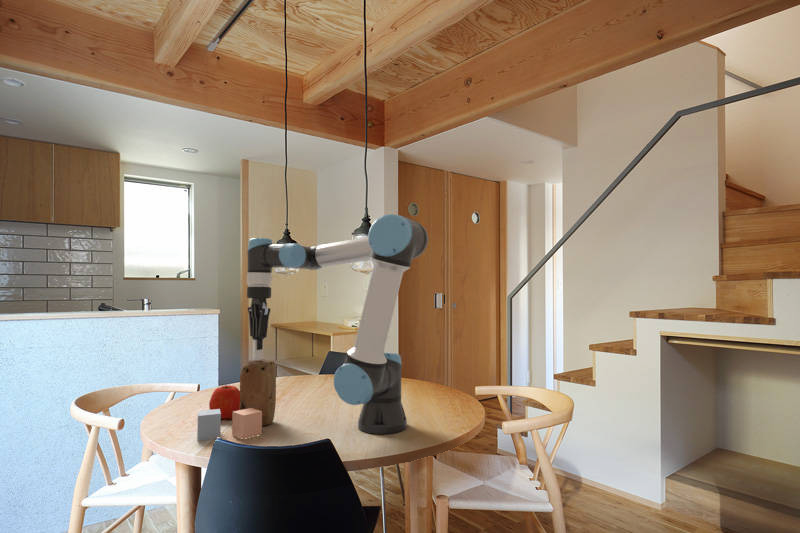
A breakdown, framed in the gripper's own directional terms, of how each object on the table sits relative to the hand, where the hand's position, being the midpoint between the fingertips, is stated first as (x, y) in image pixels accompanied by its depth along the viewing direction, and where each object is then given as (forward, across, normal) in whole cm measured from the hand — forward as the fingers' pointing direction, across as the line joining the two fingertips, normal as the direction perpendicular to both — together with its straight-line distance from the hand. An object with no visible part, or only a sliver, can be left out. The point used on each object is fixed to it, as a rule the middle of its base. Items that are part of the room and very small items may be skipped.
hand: (257, 359), depth 150 cm
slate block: (+20, -4, +16) cm, 26 cm away
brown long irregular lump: (+20, 0, 0) cm, 20 cm away
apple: (+21, +14, +5) cm, 25 cm away
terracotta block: (+20, -10, +7) cm, 24 cm away
